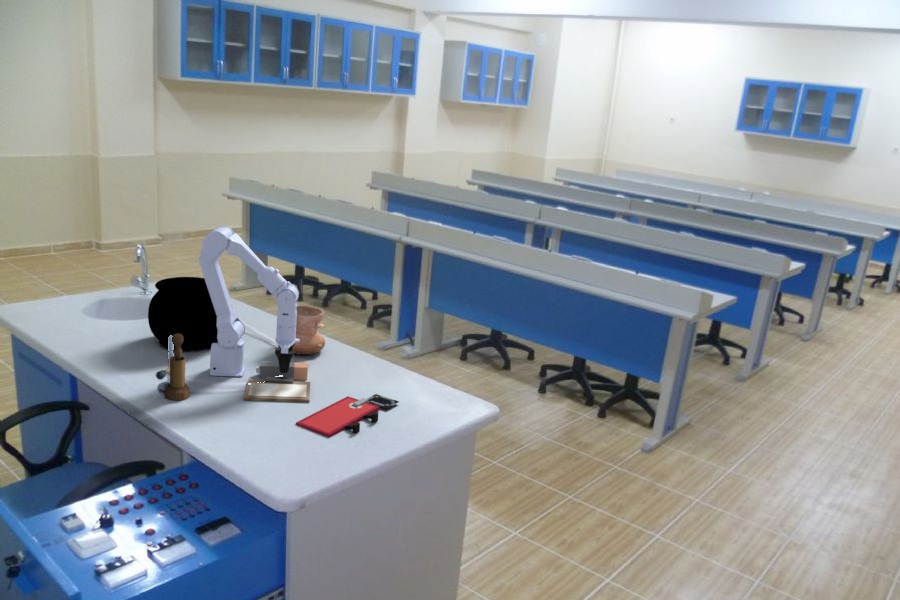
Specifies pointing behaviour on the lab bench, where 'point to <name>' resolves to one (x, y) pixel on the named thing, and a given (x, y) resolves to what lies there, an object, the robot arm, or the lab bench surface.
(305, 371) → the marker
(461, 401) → the lab bench surface
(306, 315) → the ceramic jug
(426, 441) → the lab bench surface
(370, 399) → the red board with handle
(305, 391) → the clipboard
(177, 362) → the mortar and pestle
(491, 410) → the lab bench surface
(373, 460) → the lab bench surface
